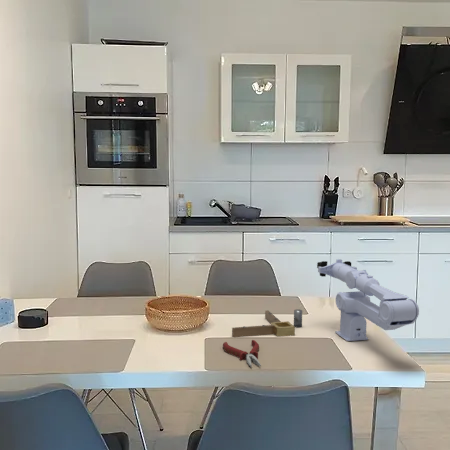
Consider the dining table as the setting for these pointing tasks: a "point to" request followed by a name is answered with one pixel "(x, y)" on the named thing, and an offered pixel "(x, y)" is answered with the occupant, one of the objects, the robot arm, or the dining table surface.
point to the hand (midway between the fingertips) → (327, 264)
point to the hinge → (266, 328)
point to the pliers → (244, 353)
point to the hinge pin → (298, 318)
